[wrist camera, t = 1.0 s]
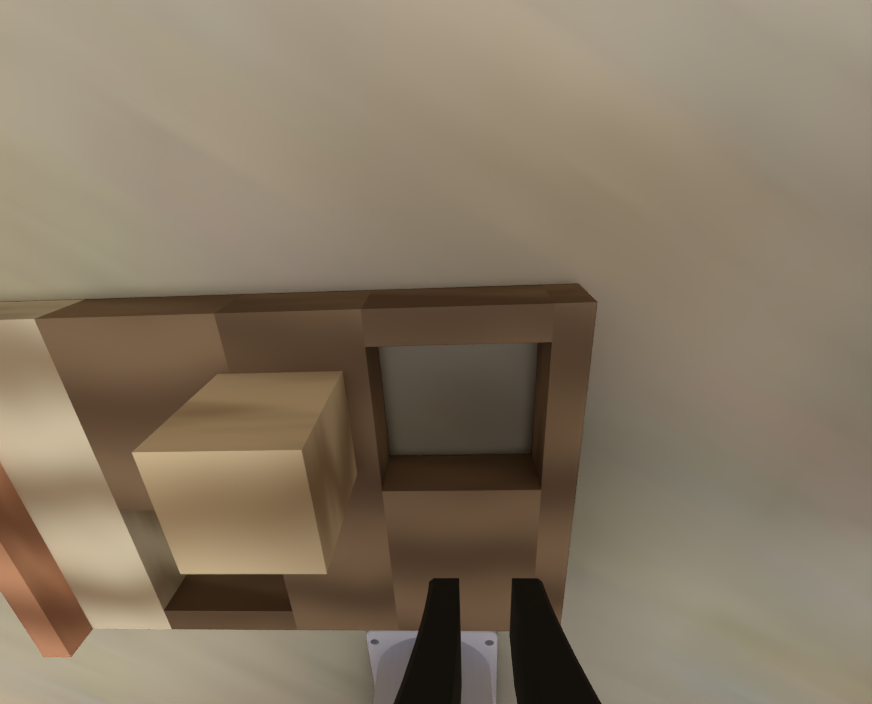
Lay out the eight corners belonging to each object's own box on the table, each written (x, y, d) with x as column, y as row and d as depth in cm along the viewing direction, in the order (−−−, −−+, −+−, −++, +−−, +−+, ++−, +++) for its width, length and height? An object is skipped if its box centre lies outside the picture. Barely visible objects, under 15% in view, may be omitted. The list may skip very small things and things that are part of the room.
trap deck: (550, 588, 25) (566, 662, 21) (100, 587, 26) (43, 656, 23) (578, 283, 18) (611, 316, 14) (-47, 303, 19) (-166, 337, 15)
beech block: (357, 473, 19) (327, 574, 14) (245, 475, 19) (180, 573, 15) (342, 371, 17) (301, 449, 12) (217, 374, 17) (131, 452, 12)
